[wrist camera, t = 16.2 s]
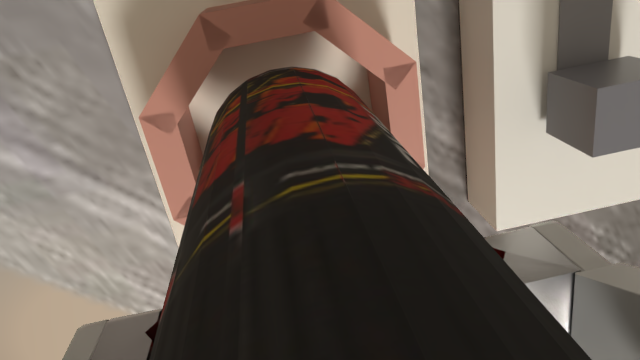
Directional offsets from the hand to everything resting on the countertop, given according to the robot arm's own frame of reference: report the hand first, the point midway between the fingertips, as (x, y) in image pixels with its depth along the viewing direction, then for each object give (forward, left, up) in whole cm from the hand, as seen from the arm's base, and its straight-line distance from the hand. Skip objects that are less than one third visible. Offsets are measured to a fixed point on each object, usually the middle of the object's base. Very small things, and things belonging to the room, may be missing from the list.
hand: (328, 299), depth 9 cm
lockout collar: (0, 0, -13) cm, 13 cm away
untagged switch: (0, -12, -9) cm, 15 cm away
